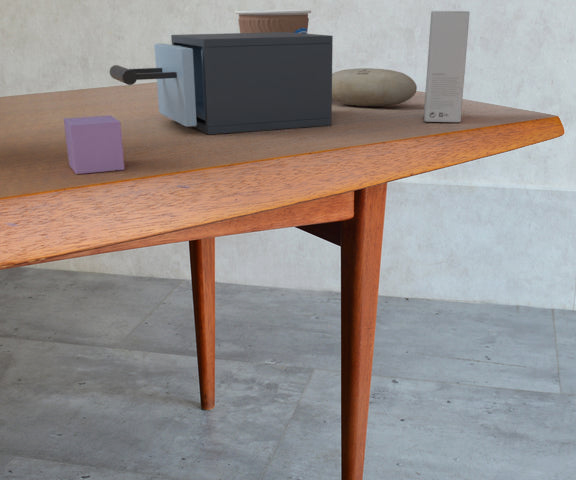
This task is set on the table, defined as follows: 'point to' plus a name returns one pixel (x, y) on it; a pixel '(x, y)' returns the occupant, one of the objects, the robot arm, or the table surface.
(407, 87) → the stone
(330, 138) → the table surface
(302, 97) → the cabinet
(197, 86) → the drawer
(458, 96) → the cosmetic box
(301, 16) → the coffee cup
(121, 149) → the cube
